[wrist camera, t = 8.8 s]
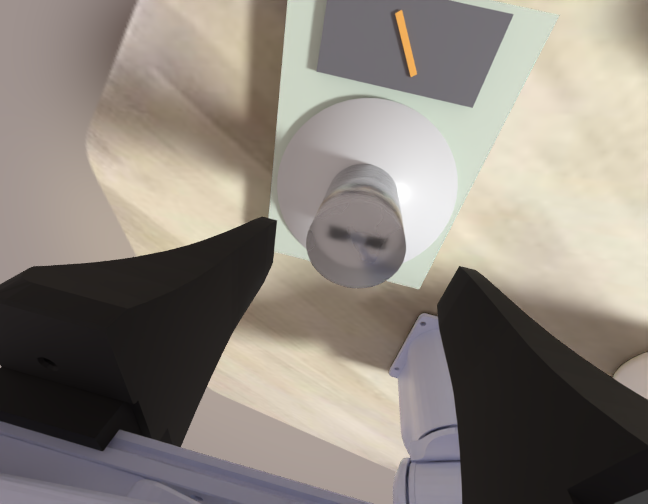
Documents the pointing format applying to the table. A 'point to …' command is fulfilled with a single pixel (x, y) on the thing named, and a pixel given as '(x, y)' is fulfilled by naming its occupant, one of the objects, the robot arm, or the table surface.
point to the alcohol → (634, 374)
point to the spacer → (358, 229)
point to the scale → (396, 107)
